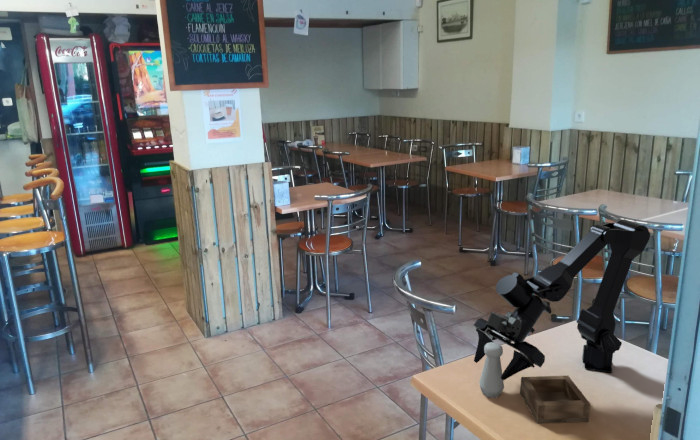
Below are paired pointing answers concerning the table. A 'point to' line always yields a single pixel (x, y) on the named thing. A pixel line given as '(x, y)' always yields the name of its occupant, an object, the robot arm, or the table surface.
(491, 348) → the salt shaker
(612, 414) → the table surface
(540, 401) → the socket block
